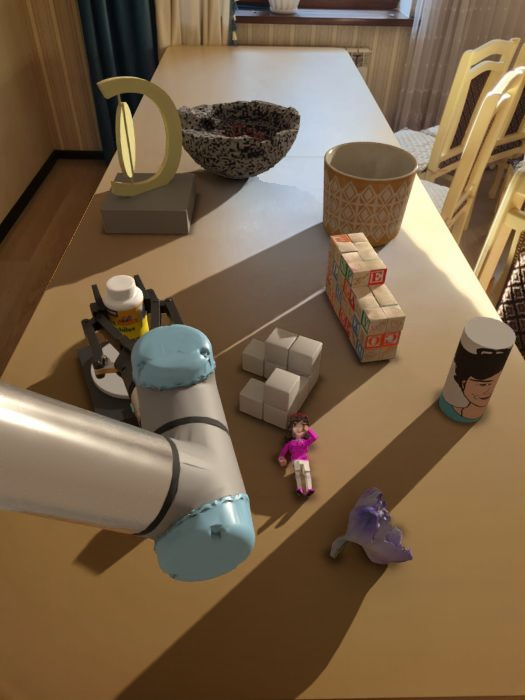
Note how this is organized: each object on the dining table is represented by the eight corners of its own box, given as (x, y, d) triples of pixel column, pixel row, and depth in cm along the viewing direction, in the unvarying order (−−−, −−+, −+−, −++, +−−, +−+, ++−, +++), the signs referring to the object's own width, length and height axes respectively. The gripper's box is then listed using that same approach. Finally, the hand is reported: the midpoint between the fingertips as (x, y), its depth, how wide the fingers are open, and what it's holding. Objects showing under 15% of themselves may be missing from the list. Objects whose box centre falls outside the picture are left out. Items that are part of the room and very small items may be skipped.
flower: (339, 571, 57) (405, 504, 58) (303, 526, 65) (362, 467, 66) (380, 612, 61) (441, 549, 62) (342, 565, 69) (396, 509, 70)
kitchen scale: (102, 438, 78) (98, 423, 76) (79, 359, 90) (75, 345, 88) (206, 404, 83) (205, 390, 81) (172, 334, 95) (170, 320, 93)
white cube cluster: (253, 355, 92) (253, 318, 86) (318, 379, 88) (322, 342, 82) (216, 401, 84) (214, 364, 78) (286, 430, 80) (288, 393, 74)
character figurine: (323, 499, 72) (312, 423, 80) (326, 481, 68) (314, 403, 76) (281, 502, 72) (273, 425, 80) (282, 484, 68) (273, 406, 76)
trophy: (121, 194, 134) (97, 61, 114) (196, 195, 134) (186, 63, 114) (105, 232, 121) (75, 90, 100) (188, 233, 121) (175, 91, 100)
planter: (402, 213, 129) (416, 145, 118) (403, 257, 115) (420, 184, 103) (321, 206, 131) (328, 138, 120) (313, 247, 117) (319, 175, 106)
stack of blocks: (396, 359, 91) (410, 300, 83) (360, 364, 90) (371, 305, 82) (354, 286, 107) (363, 231, 98) (323, 289, 106) (330, 234, 97)
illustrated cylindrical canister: (453, 426, 81) (481, 352, 70) (431, 394, 85) (455, 321, 75) (492, 417, 82) (526, 344, 72) (468, 386, 87) (497, 313, 77)
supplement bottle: (106, 347, 80) (92, 291, 73) (121, 323, 84) (109, 268, 77) (141, 353, 79) (130, 297, 72) (155, 329, 83) (146, 274, 76)
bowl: (320, 172, 145) (325, 114, 135) (237, 212, 128) (235, 150, 118) (238, 139, 161) (237, 86, 151) (154, 171, 144) (147, 113, 134)
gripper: (89, 434, 65) (59, 322, 81) (232, 389, 71) (178, 292, 87) (75, 391, 60) (46, 280, 76) (230, 346, 66) (173, 252, 82)
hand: (116, 287), depth 81 cm, fingers closed on supplement bottle, 6 cm apart
